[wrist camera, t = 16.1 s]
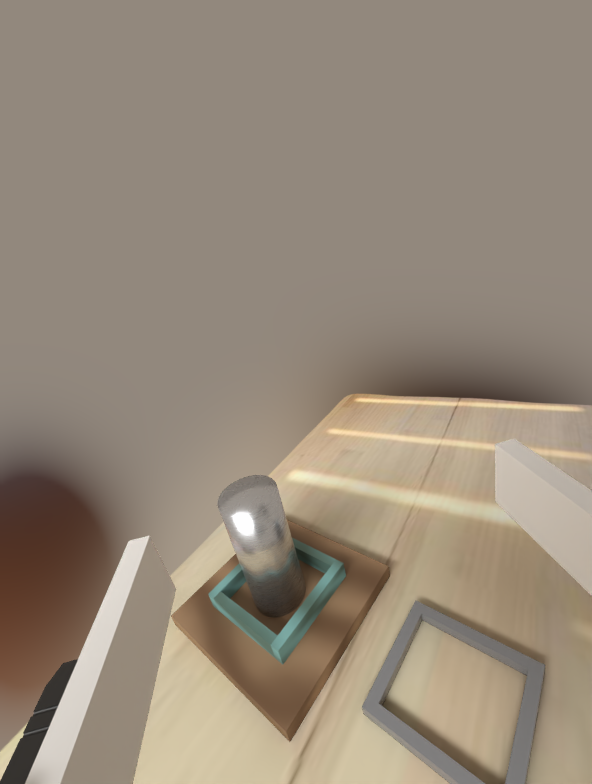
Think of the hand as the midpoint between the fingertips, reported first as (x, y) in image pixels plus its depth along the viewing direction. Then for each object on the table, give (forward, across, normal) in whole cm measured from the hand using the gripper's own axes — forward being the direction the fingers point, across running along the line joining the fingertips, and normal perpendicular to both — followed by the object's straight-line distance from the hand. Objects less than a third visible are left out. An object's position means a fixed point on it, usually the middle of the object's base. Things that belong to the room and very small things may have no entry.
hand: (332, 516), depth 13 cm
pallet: (+19, -6, -27) cm, 34 cm away
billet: (+19, -6, -26) cm, 32 cm away
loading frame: (+6, +7, -27) cm, 29 cm away
